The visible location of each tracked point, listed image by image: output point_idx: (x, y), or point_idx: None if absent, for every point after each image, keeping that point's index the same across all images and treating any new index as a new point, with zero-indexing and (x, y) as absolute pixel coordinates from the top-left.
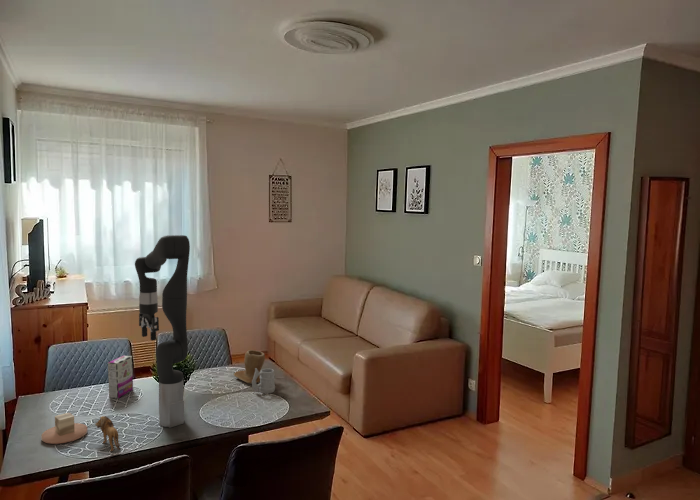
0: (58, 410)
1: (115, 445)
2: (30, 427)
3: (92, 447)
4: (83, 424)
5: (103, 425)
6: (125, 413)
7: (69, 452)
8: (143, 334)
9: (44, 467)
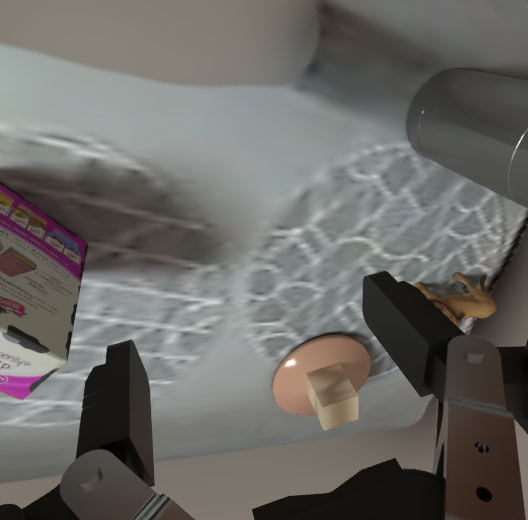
0: None
1: (482, 289)
2: (217, 434)
3: None
4: (308, 348)
5: None
6: (267, 236)
7: None
8: (148, 397)
9: None
